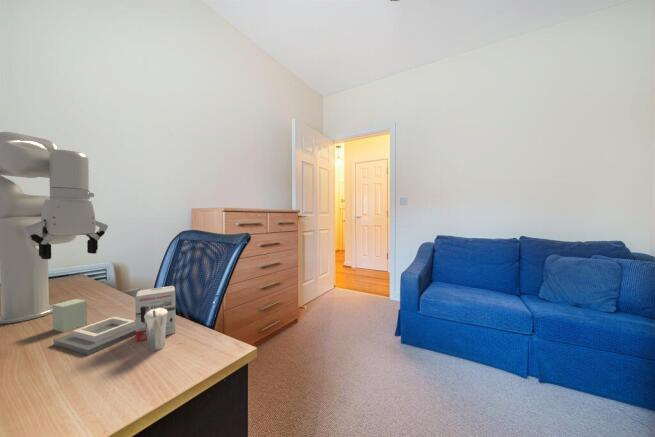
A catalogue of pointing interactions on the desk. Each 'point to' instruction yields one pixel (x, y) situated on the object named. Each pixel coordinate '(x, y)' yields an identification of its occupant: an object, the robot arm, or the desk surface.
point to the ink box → (152, 301)
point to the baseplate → (98, 335)
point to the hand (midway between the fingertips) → (70, 255)
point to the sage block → (69, 315)
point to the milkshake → (156, 328)
